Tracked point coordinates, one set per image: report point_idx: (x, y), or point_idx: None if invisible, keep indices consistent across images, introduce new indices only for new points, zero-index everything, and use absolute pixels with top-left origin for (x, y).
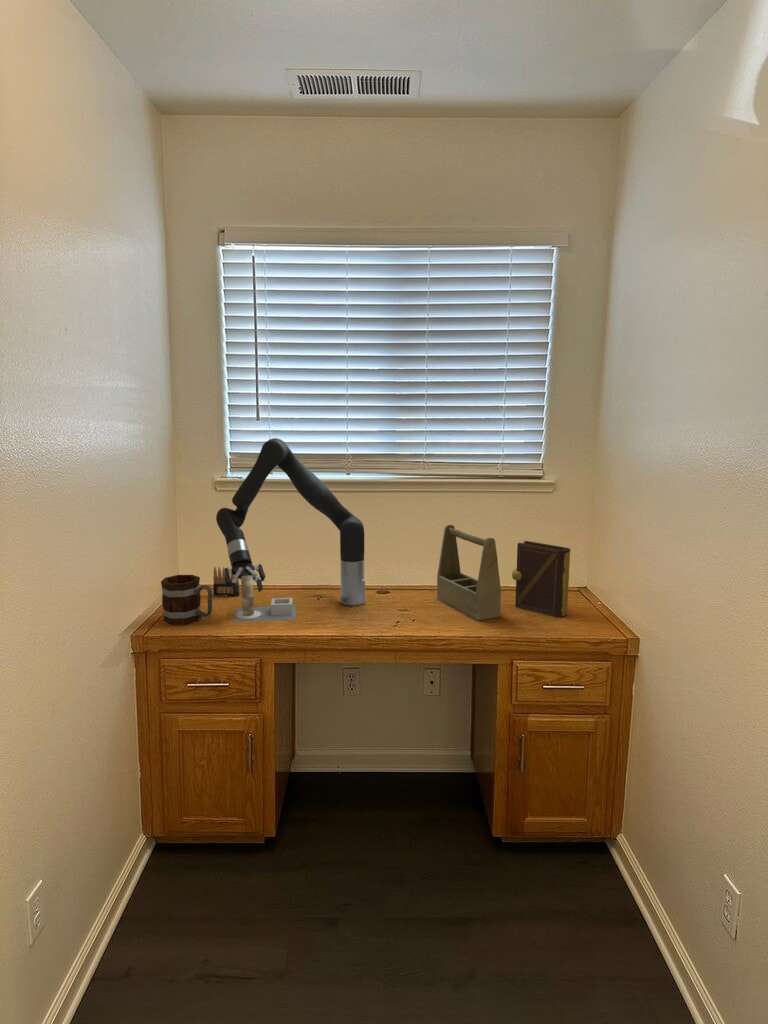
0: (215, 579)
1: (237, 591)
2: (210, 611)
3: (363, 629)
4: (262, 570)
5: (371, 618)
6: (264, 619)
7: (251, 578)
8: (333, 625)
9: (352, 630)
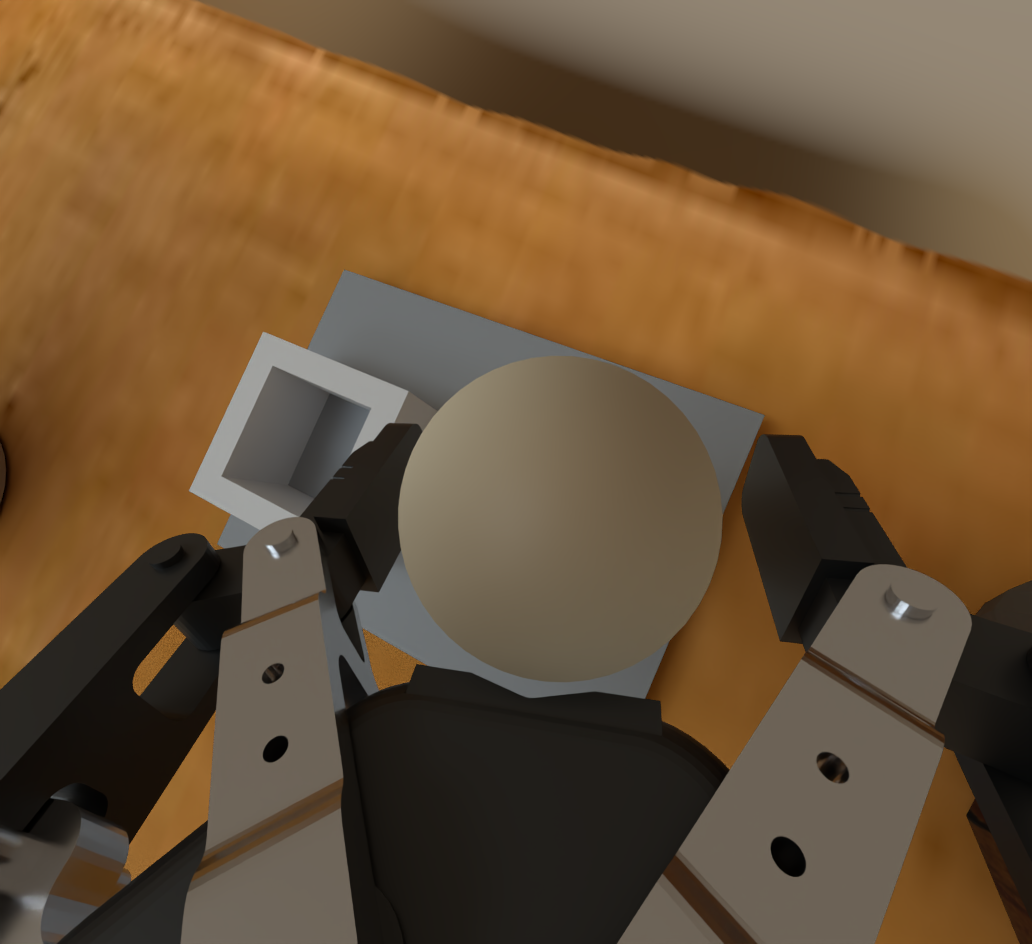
0: None
1: (777, 437)
2: (1018, 586)
3: (144, 73)
4: (7, 707)
5: (39, 201)
6: (518, 355)
7: (468, 399)
8: (218, 174)
9: (187, 76)
